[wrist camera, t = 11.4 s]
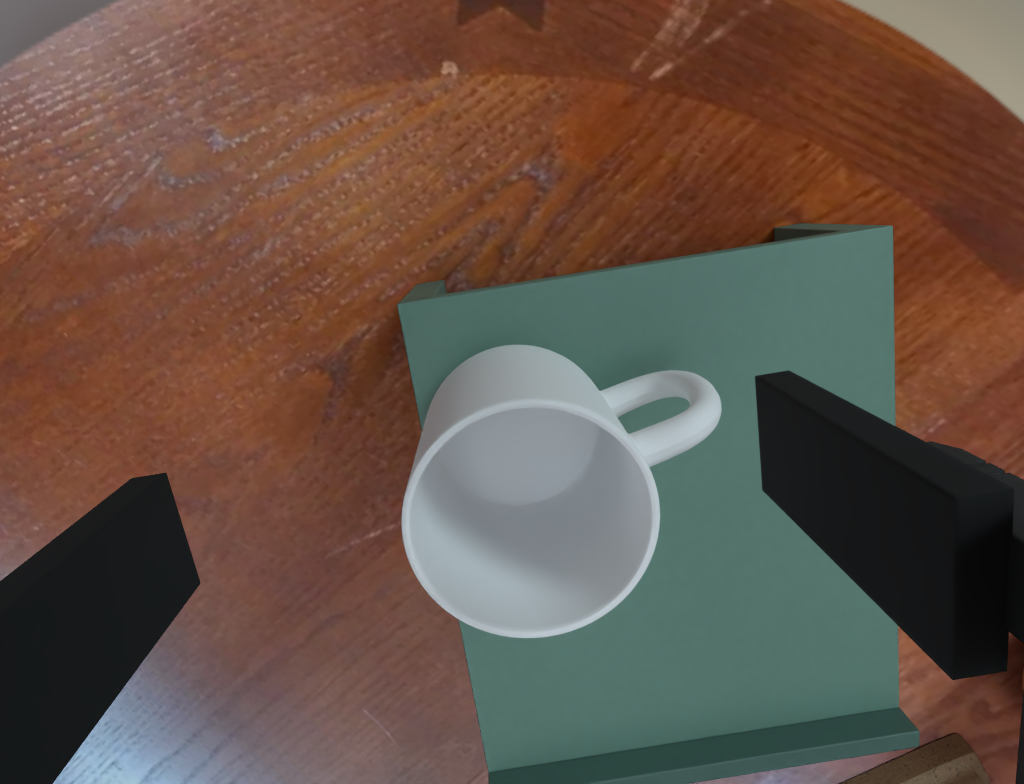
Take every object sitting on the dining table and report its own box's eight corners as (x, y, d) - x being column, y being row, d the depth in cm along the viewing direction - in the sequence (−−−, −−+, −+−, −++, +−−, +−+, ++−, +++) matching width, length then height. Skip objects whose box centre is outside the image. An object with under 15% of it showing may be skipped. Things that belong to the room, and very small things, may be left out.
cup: (394, 388, 31) (353, 467, 21) (639, 273, 30) (714, 302, 20) (474, 539, 33) (471, 676, 23) (706, 436, 32) (804, 532, 22)
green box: (416, 284, 39) (391, 309, 28) (801, 223, 39) (918, 226, 28) (489, 677, 45) (491, 815, 35) (819, 625, 45) (920, 747, 35)
